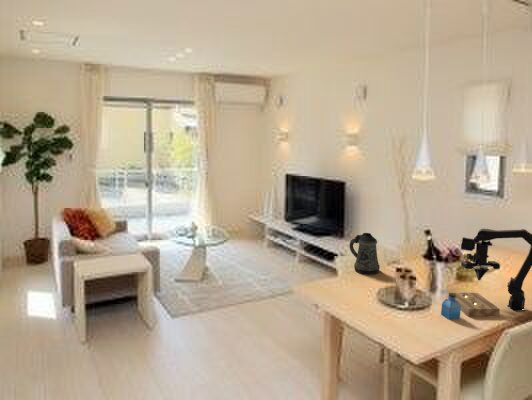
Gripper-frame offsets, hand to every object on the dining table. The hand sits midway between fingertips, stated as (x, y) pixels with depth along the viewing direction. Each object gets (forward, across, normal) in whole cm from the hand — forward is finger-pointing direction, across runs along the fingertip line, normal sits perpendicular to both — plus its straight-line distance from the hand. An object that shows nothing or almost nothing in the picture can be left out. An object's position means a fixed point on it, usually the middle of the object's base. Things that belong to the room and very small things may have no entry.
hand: (478, 280), depth 237 cm
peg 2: (+12, +7, +14) cm, 20 cm away
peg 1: (+12, +7, +4) cm, 14 cm away
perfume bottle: (+12, +24, +20) cm, 34 cm away
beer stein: (+12, +49, -51) cm, 72 cm away
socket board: (+12, +7, +9) cm, 17 cm away
